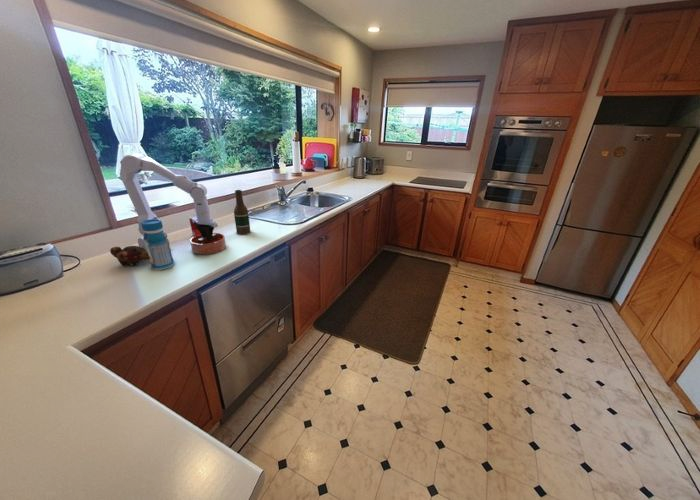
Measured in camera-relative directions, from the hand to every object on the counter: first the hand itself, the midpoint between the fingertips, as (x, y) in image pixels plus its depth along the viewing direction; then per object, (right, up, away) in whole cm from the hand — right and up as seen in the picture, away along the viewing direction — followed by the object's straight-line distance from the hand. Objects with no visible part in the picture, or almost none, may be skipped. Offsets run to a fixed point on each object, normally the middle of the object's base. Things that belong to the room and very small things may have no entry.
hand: (207, 238), depth 135 cm
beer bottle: (+8, +4, +24) cm, 26 cm away
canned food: (-12, +2, +17) cm, 21 cm away
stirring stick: (0, -1, +1) cm, 1 cm away
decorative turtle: (-25, -11, -14) cm, 30 cm away
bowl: (0, -5, +2) cm, 5 cm away
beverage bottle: (-11, -12, -15) cm, 23 cm away
